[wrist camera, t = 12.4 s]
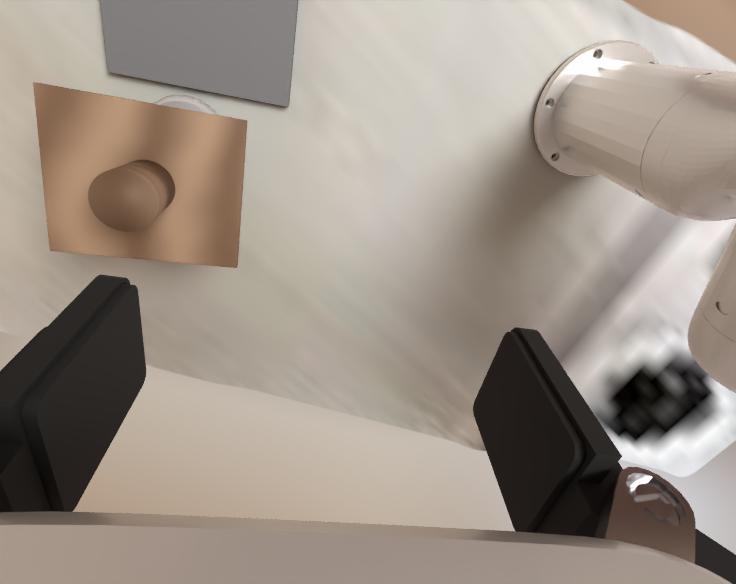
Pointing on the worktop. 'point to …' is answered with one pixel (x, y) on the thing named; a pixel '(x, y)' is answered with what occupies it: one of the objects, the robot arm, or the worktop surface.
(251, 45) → the grey flat slab
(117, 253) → the walnut lid
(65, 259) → the worktop surface
